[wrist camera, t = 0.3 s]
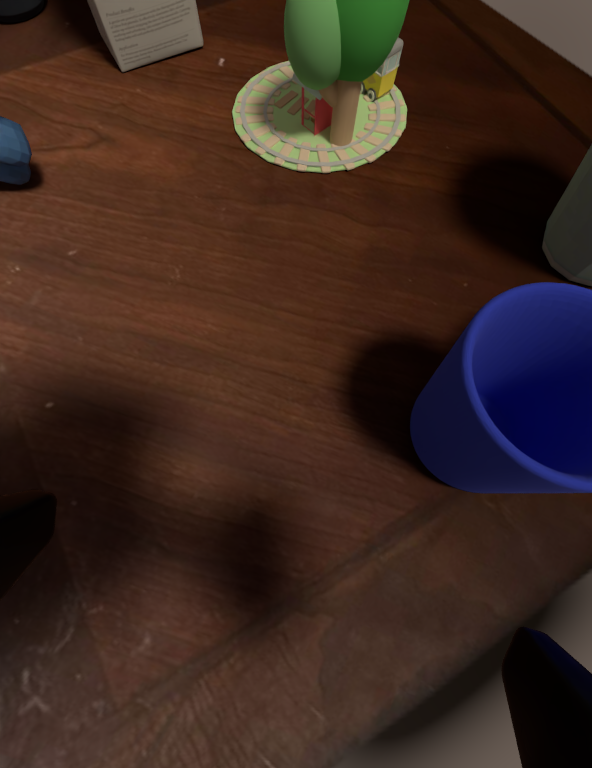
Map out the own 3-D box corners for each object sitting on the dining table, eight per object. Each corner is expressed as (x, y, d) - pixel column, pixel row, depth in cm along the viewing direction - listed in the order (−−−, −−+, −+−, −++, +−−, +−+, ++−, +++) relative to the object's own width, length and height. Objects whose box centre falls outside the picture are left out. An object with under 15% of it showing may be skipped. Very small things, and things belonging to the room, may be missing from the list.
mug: (590, 398, 24) (778, 319, 15) (472, 538, 21) (615, 548, 12) (486, 314, 26) (595, 198, 17) (365, 431, 23) (416, 368, 14)
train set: (412, -215, 23) (535, -102, 19) (368, 45, 36) (436, 148, 32) (168, -187, 21) (243, -54, 17) (212, 78, 34) (262, 194, 30)
